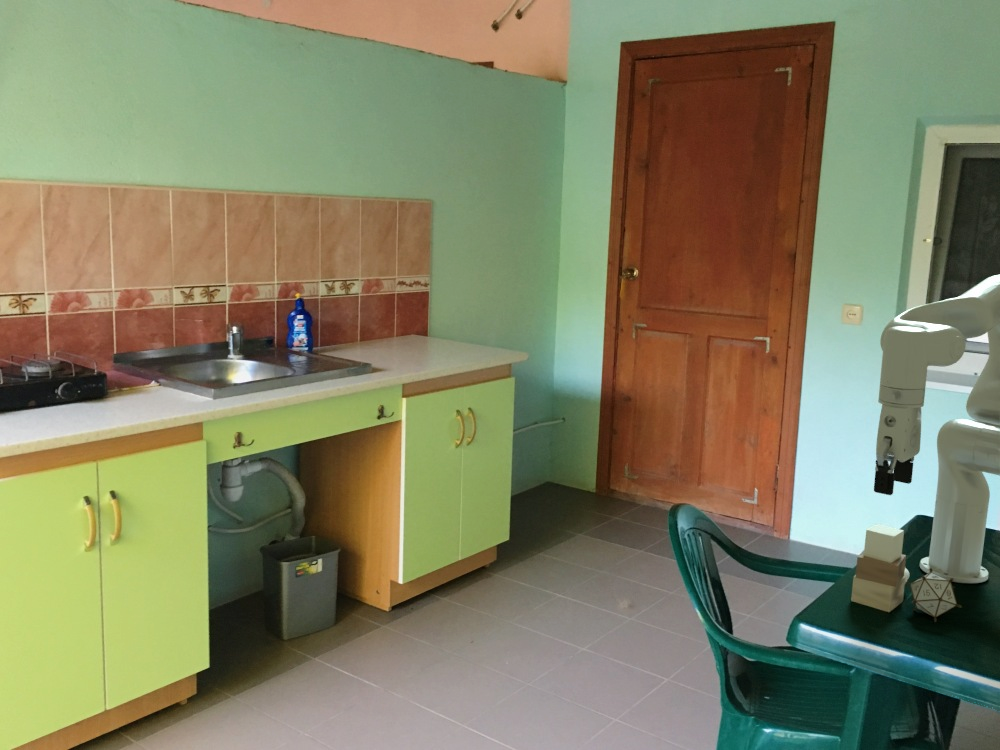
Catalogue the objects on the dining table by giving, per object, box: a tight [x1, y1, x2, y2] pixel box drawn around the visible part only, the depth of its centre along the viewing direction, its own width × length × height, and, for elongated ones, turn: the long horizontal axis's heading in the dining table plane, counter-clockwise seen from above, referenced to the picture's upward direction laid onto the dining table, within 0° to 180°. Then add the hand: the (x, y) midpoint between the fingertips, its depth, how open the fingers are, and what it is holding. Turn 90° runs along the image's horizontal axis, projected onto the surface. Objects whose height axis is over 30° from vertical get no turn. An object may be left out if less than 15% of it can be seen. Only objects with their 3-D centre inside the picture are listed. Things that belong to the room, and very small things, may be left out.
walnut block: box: [854, 549, 907, 587], centre depth 172 cm, size 7×7×4 cm
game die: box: [905, 568, 962, 623], centre depth 167 cm, size 9×8×10 cm
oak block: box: [850, 574, 906, 613], centre depth 173 cm, size 7×7×5 cm
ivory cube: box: [863, 523, 905, 563], centre depth 171 cm, size 5×5×5 cm
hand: (892, 487), depth 169 cm, fingers open, 9 cm apart
